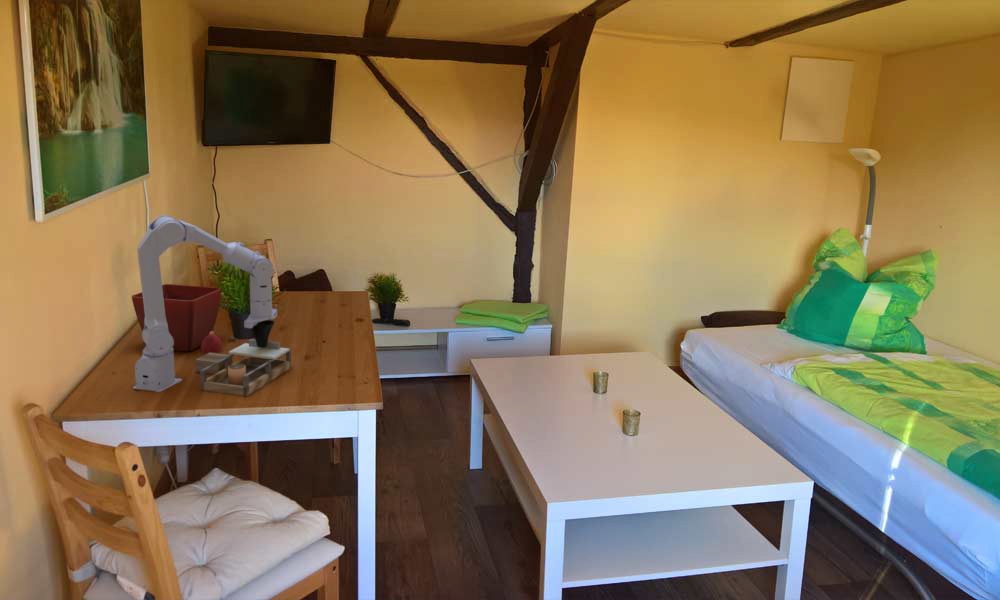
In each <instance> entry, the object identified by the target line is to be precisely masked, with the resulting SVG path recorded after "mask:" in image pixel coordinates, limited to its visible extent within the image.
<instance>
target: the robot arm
mask: <svg viewBox="0 0 1000 600" xmlns="http://www.w3.org/2000/svg"><path fill="white" fill-rule="evenodd" d="M181 242H184V243H193V242H196V243H197V244H200V245H202V246H204V247H206V248H208V249H211V250H212V251H215V252H217V253H219V254H221V256H222V259H223V261H224V262H226V263H228V264H230V265H232V266H234V267H236V268H238V269H241V270H242V271H244V272H248V273H249V281H250V282H249V303H250V305H249V306H250V307H249V309H250V310H249V311H250V314H249V315H248V317H247V318H246V319H244V321H243V322H244V325H243V326H244V328H245V329H249V330H251V332H252V334H253V336H254V339H255V340H256V343H257V346H258V347H263V348H264V347H266V345H267V342H268V341H269V336H270V333H271V331H272V329H273V326H274V325H275V321H274V320H275V319H277V317H278V309H277V308H273V292H272V290H273V287H272V286H273V285H272V276H273V275H274V273H275V267H274V265H273V263H272V261H270V260H269V259H268V258H266V257H265V256H264V255H262V254H261V253H260V252H259V251H256V250H255V251H253V250H251V249H249V248H247V247H246V246H245V244H244V243H242V242H241V241H238V242H237V241H232V242H225V241H223V240H221V239H220V238H217V237H216V236H214V235H212V234H211V233H208V232H206V231H205V230H203V229H201V228H199V227H198V226H196V225H194V224H191V223H188V222H187V221H183V220H181V219H176V218H174V217H172V216H170V215H160V216H158V217H157V218H155V219H154V220H153V221H151V222H150V223H149V224H148V226H147V230H146V232H145V233H144V235H143V237H142V239H141V240H140V242H139V244H138V246H137V258H138V259H137V260H138V268H139V276H140V283H141V284H140V285H141V286H140V287H141V292H142V294H143V303H144V311H145V319H144V323H145V326H144V329H143V332H142V331H141V338H142V341H143V342H144V344H146V345H145V347H144V348H143V350H142V356H141V358H140V359H138V360H137V361H136V362H135V365H134V375H135V385H134V386H133V387H132V388H133V390H139V391H142V390H143V391H148V392H149V391H152V392H156V393H157V392H158V393H160V392H163V391H165V390H167V389H168V388H171V387H172V386H175V385H176V384H178V383H180V382H182V381H183V379H182V378H177V377H176V375H175V374H176V373H175V354H174V350H173V348H172V347H173V345H174V340H173V337H172V336H171V335H170V333H169V330H168V324H167V320H166V316H165V307H164V298H163V289H162V285H163V283H162V282H163V281H162V273H161V272H162V271H161V265H160V263H161V262H160V257H161V255H162V254H164V253H165V252H166V251H167V250H168V249H169V248H172V247H174V246H177V245H178V244H179V243H181Z"/></svg>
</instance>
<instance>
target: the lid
mask: <svg viewBox="0 0 1000 600" xmlns="http://www.w3.org/2000/svg"><path fill="white" fill-rule="evenodd" d="M289 349H290V347H289V348H288V347H281V342H278V341H272V340H271V341H270V340H268V342H267V345H266V347H264V348H263V347H258V346H257V343H256V340H255V338H250V339H248V343H242V344H241V345H238V346H237V347H235V348H233V349H231V350H230V351H228V355H231V354H235V355H236V356H244V357H247V356H251V357H259V358H267V359H276V358H277V359H279V358H280V357H282V356H283V354H284V353H285V354H286V352H288V351H289ZM285 354H284V355H285ZM235 355H234V356H235ZM281 355H282V356H281ZM279 356H280V357H279ZM278 357H279V358H278Z"/></svg>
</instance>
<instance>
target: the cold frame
mask: <svg viewBox="0 0 1000 600" xmlns="http://www.w3.org/2000/svg"><path fill="white" fill-rule="evenodd" d="M228 355H229V356H227V357H225V358H223V359H221V360H219V361H217V362H216V363H214V364H212V365H210V366H208V367H206V368H204V369H202V370H201V371H200V373H199V376H200V390H201V391H205V392H212V393H220V394H227V395H232V396H233V395H234V396H242V397H248V396H249V395H251V394H254V392H256V391H257V390H259V389H260V388H262V387H264V386H265V385H267V384H268V383H270V382H272V381H273V380H275V379H276V378H277V377H279V376H280V375H282V374H284V373H285V372H287V371H288V370H290V369H292V350H291V349H290V348H289V351H288V352H286V353H284V354H283V355H285V359H283V358H280V357H282V356H283V355H281V356H279V357H278V358H276V359H267V358H259V357H251V356H244V357H243V358H242V359H240V360H238V361H236V362H234V363H233V364H232V365H234V364H242V365H245V366H246V375H244V376H243V386H240V385H232V384H229V383H228V367H229V366H230V365H231V363H230V357H231V356H232V357H233V356H235V354H228ZM224 360H225V369H223V370H221V371H219V372H218V373H216V374H214V375H213V374H211V375H210V376H208V377H207V374H206V370H207V369H209V368H211V367H213V366H214V365H216V364H218V363H220V362H222V361H224Z"/></svg>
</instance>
